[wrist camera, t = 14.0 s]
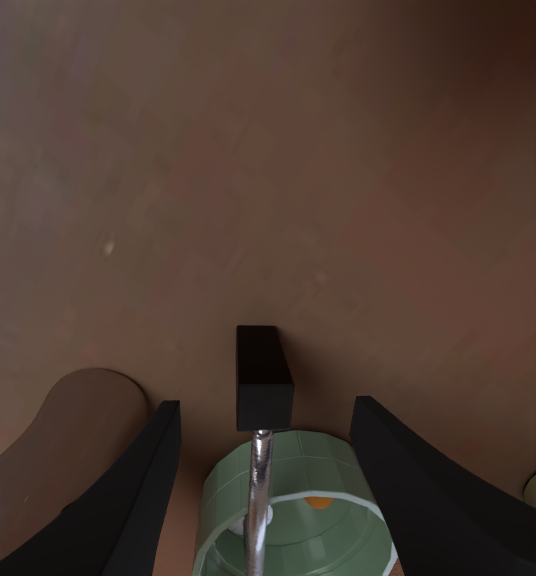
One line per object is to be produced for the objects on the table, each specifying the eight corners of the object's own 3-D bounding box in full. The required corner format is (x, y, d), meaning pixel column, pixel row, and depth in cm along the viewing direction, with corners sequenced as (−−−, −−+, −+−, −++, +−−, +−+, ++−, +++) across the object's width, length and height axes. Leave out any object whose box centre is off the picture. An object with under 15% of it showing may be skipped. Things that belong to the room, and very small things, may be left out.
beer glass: (35, 441, 20) (-474, 1105, 5) (45, 350, 18) (-714, 1024, 4) (145, 456, 21) (-37, 1020, 7) (166, 373, 19) (-32, 926, 5)
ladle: (269, 517, 23) (283, 630, 17) (222, 520, 23) (218, 638, 17) (285, 325, 19) (309, 386, 13) (226, 324, 18) (223, 387, 12)
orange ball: (302, 473, 23) (333, 470, 23) (306, 512, 22) (340, 509, 21) (296, 467, 21) (330, 463, 21) (301, 508, 20) (337, 505, 19)
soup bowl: (389, 433, 23) (430, 498, 18) (338, 548, 27) (360, 626, 22) (217, 414, 20) (213, 483, 16) (189, 543, 24) (178, 629, 20)
